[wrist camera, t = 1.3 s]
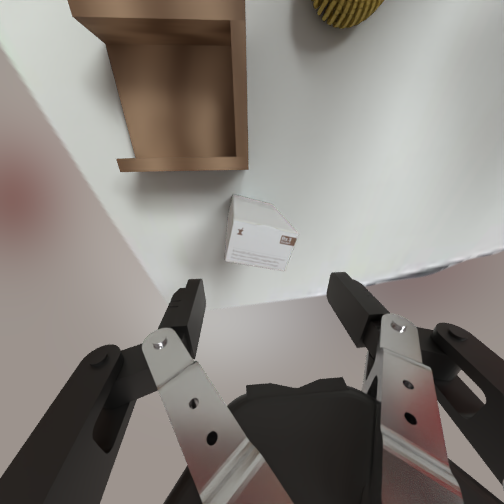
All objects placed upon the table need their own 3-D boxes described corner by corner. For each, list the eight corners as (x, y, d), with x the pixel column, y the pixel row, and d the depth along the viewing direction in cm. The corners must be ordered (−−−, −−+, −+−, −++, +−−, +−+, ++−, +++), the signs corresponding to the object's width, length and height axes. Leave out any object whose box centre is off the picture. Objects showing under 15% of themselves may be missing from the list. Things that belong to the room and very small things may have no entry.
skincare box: (226, 222, 28) (220, 265, 17) (232, 191, 26) (229, 218, 15) (266, 230, 29) (284, 276, 18) (275, 201, 27) (300, 233, 16)
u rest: (243, 35, 19) (245, -3, 14) (246, 166, 25) (248, 169, 20) (108, 32, 18) (65, -8, 14) (143, 168, 24) (120, 172, 19)
